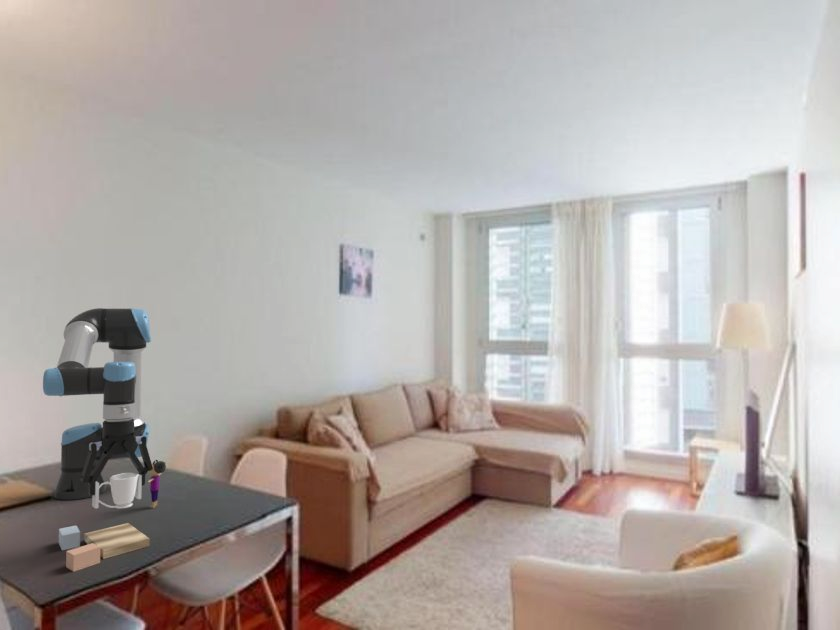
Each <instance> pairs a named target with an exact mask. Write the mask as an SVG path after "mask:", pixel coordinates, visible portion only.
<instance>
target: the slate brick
mask: <svg viewBox="0 0 840 630" xmlns="http://www.w3.org/2000/svg"><path fill="white" fill-rule="evenodd" d="M58 545H59V547H60V549H61V551H65V550H66V551H68V550H72V549H75V548H78V547H81V530H80V529H79V527H78V526H77V525H72V526H67V527H62V528H58Z"/></svg>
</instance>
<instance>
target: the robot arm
mask: <svg viewBox="0 0 840 630" xmlns="http://www.w3.org/2000/svg"><path fill="white" fill-rule="evenodd" d="M149 321H150V320H149V315H148V312H147V311H146V310H144V309H141V308H138V309H137V308H102V307H101V308H100V307H99V308H97V307H96V308H92V309H91V308H90V309H88V310H86V311H83V312H81V313H79V314H77V315H76V316H74V317H73V318H72V319H71V320H69V322H68V323H67V324H66V325H65V327H64V331H63V339H64V343H63V346H62V349H61V353H60V355H59V358H58V361H57V365H56V367H54V368H47V369H45V370H44V373H43V376H42V377H43V378H42V390H43V393H44V395H46V396H49V397H50V396H51V397H53V396H54V397H57V396H58V397H63V396H64V397H65V396H66V397H67V396H82V395H83V396H84V395H103V403H102V419H103V421H102V424H101V423H100V422H92V423H84V424H81V425H75V426H72V427H69V428H67V429H65V430H64V431H63V432H62V434H61V443H60V446H61V449H60V451H61V452H60V453H61V456H60V457H61V458H60V474H59V478H58V480H57V483H56V484H55V488H54V489H53V490H54V493H53V495H54V496H53V497H54V498H55V499H56V500H64V501H65V500H66V501H67V500H68V501H70V500H81V499H82V500H83V499H87V498H92V500H91V502H92V503H91V507H93V508H94V509H99V507H100V506H99V504H100V502H99V500H100V495H101V494H102V493H104V492H106V490H107V487H106V486H107V484H104V485H102V486H101V487H100V488H99V486H100V484H101V483H103V482H106V480H105V477H104V475H103V472H102V471H103V470H104V468H105V466H106V465H107V463H108V461H115V460H117V461H118V460H128V459H129V460H130V461H131V463H132V464H133V466H134V467H135V469H136V470H137V472H135V473H136V474H139V476H138V481H137V487H136V493H135V496H134V499H137V500H141V499H142V487H143V486H145V485H146V475H147V474H148V473H149V471H151V470H152V469H153V467H152V465H153V462H152V460H151V457H150V453H149V450H148V447H147V446H148V440H149V432H150V425H149V424H148V423H146V419H145V418H144V417H142V416H141V405H142V404H141V403H142V402H141V401H142V400H141V398H142V397H141V396H142V395H141V394H142V392H141V391H142V352H143V351H144V350H145V349H146V348H147V344H149V343H151V342H152V340H151V339H152V337H151V336H152V335H151V329H150V322H149ZM95 343H108V349H109V350H110V351H111V352H113V361H108V362H106V363H105V364H104V365H103V367H102V366H101V367H99V366H98V367H89V365H90V360H91V354H92V351H93V346H94V345H95ZM139 458H141V459H142V461H143V464H142V462H141V461H140V460H139Z"/></svg>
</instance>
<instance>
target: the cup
mask: <svg viewBox="0 0 840 630" xmlns="http://www.w3.org/2000/svg"><path fill="white" fill-rule="evenodd" d="M136 473H137V472H122V473H118V474H113V475H112V476H110V477H109V481H108V480H107V481H105V482H103V483H101V484H100V486H99V488H100V487H101V486H102V485H104V484H106V485H110V491H111V492H110V493H111V496H112V501H113V504H115V505H111V504H110V505H109V504H107V503H105V502H104V501H101V500H100V499H99V504H101V505H103V506H104V507H107V508H110V509H113V508H116V509H117V510H118V509H126V508H130V507H132V506H133V505H134V502H133V501H134V499H135V493H136V487H137V481H138V476H139V474H136Z"/></svg>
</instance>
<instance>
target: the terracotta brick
mask: <svg viewBox="0 0 840 630" xmlns="http://www.w3.org/2000/svg"><path fill="white" fill-rule="evenodd" d="M65 553H66V556H65V557H66V559H65V561H66V562H65V567H66V568H67V569H68V570H70V571H72V572H76V571H79V570H82V569H86V568H89V567H91V566H94V565H97V564H100V563H101V556H100V546H98V545H96V544H94V543H91V544H86V545H82V546H80V547H76V548H71V549H68V550H66V551H65Z"/></svg>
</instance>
